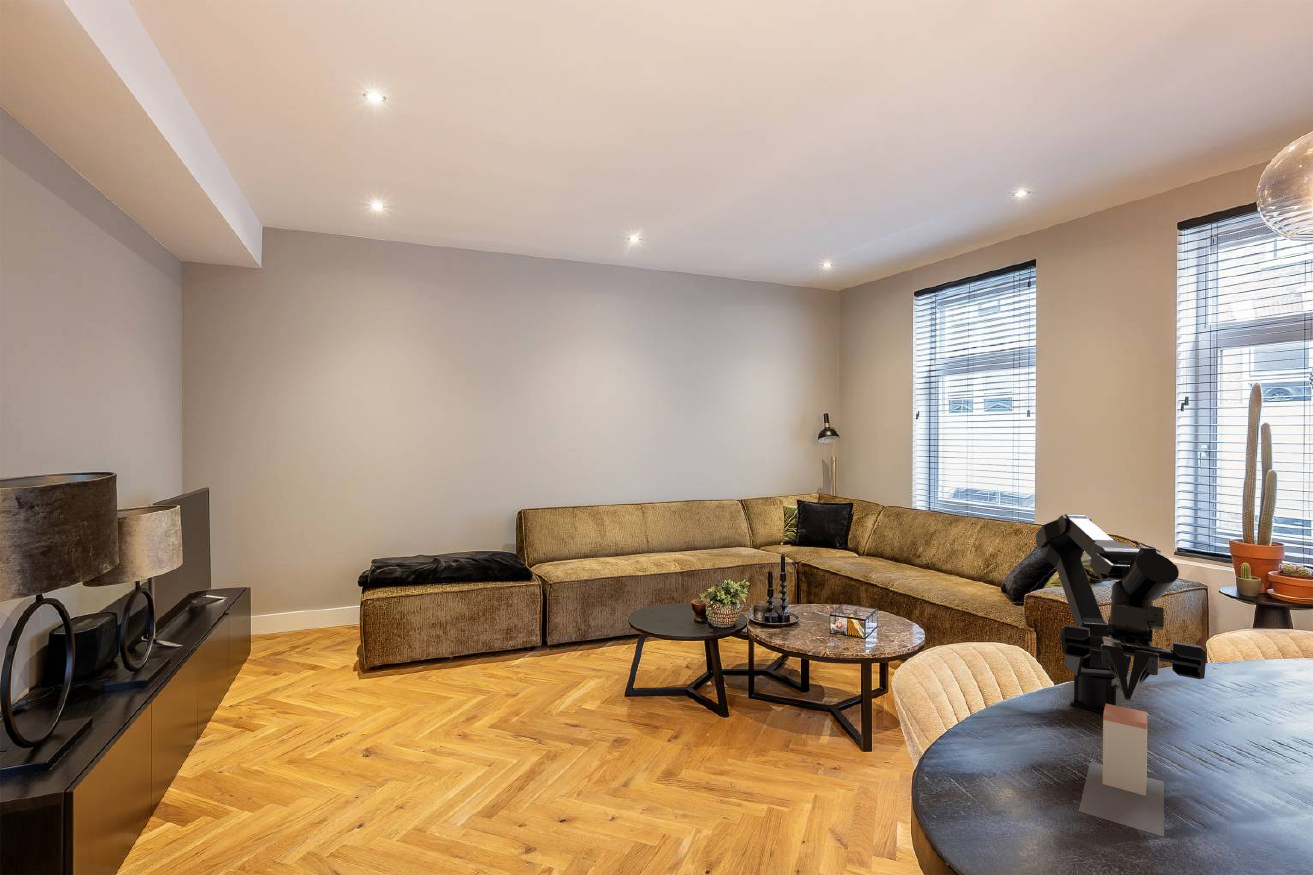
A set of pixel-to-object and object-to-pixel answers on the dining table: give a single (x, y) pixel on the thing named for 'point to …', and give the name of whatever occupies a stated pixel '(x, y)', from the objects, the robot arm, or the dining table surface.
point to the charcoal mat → (1124, 803)
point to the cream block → (1125, 748)
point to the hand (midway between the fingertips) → (1127, 698)
